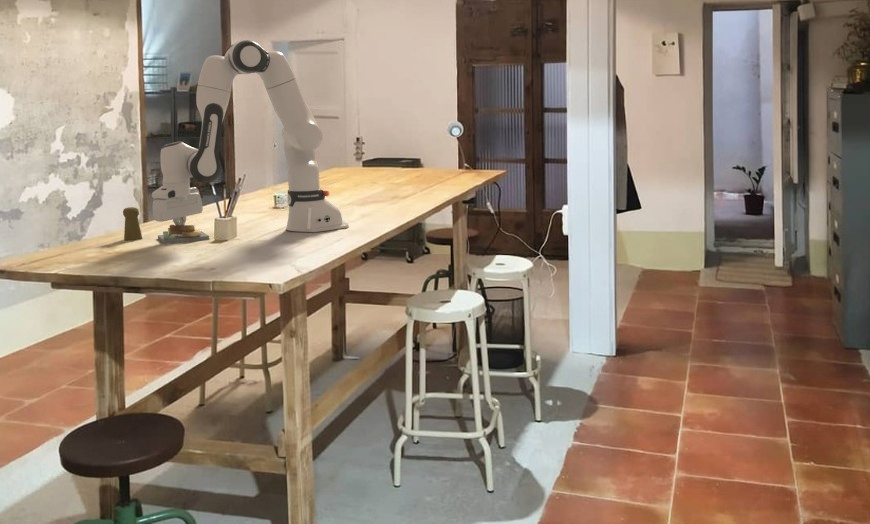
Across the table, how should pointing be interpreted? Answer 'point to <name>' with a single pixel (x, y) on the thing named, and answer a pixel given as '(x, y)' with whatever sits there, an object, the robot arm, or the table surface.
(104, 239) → the table surface
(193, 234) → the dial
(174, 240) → the board
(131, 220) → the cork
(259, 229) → the table surface
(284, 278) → the table surface
